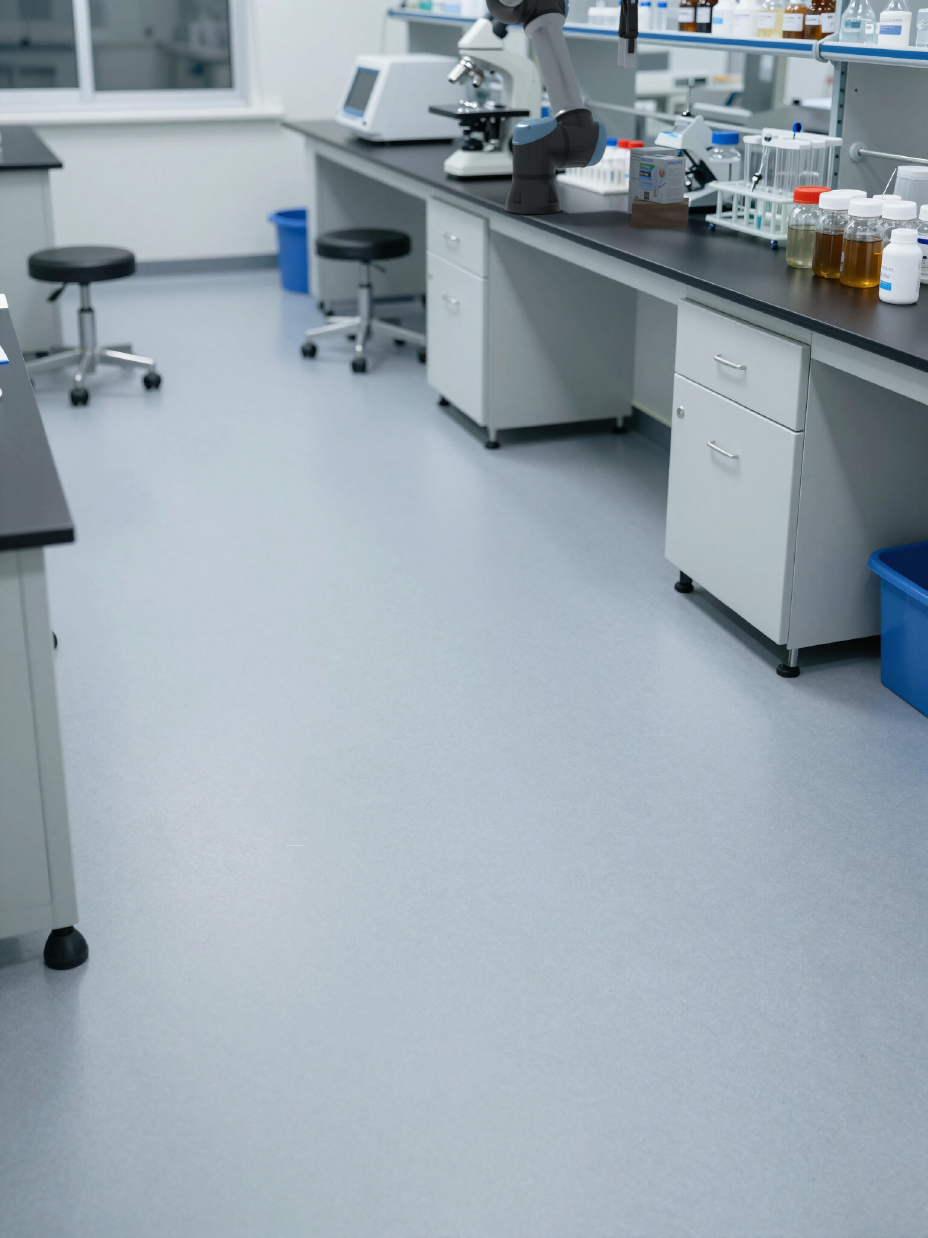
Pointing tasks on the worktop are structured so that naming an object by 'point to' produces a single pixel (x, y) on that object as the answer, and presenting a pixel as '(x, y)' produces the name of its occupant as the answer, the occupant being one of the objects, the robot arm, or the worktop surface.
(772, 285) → the worktop surface
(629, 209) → the supplement box
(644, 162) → the light bulb box
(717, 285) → the worktop surface
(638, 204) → the walnut plinth
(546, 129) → the robot arm
